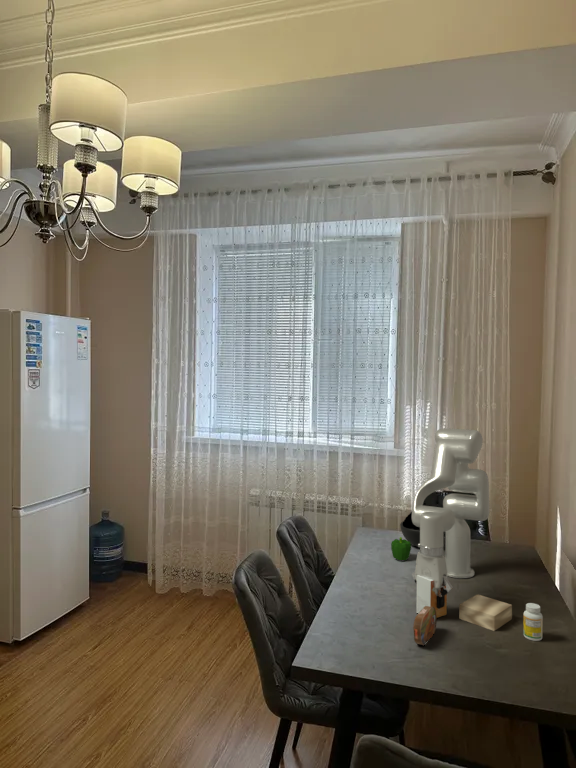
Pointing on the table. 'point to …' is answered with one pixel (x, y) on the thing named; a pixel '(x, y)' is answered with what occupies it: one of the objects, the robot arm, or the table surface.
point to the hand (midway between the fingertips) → (431, 603)
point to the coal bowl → (411, 530)
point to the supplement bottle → (532, 622)
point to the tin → (424, 625)
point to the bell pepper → (401, 549)
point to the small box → (428, 596)
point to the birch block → (485, 612)
